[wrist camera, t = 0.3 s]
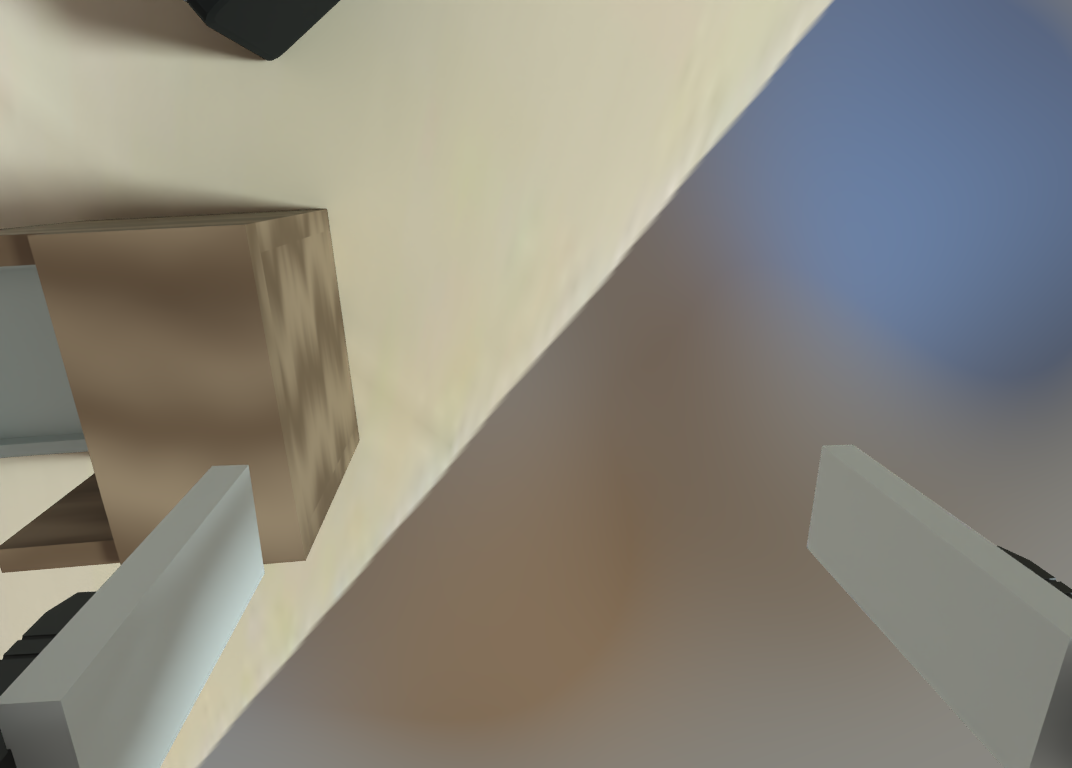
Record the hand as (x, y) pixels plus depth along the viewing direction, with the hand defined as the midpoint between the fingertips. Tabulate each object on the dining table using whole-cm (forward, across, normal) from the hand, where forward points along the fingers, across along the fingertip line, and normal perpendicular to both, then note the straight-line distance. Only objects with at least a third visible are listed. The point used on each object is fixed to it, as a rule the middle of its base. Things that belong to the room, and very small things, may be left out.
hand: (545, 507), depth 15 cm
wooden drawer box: (+27, -17, -2) cm, 32 cm away
